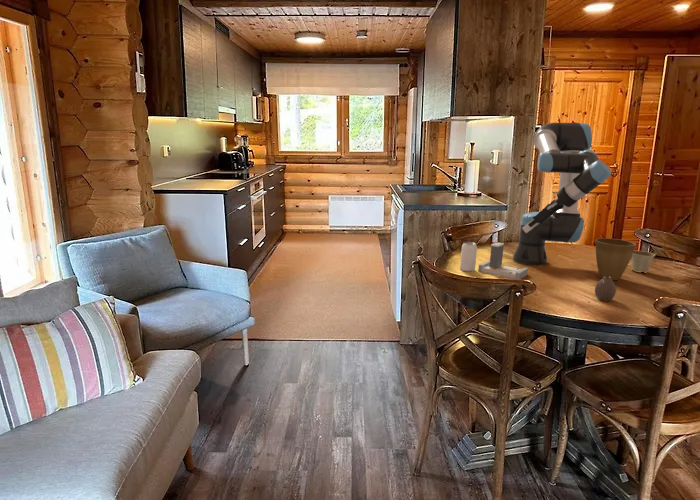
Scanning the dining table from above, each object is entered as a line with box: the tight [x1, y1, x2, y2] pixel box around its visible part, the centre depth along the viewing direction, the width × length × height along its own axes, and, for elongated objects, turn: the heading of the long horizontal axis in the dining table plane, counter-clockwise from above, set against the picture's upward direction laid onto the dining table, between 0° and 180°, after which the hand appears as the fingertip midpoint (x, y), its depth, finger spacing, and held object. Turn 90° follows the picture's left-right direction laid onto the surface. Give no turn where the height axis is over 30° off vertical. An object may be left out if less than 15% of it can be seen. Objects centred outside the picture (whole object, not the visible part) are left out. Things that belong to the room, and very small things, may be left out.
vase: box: [594, 276, 617, 302], centre depth 181 cm, size 7×7×9 cm
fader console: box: [477, 259, 529, 280], centre depth 212 cm, size 18×10×3 cm, turn 51°
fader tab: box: [489, 242, 505, 268], centre depth 213 cm, size 3×6×12 cm, turn 141°
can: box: [459, 241, 478, 272], centre depth 215 cm, size 6×6×12 cm
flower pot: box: [631, 250, 656, 272], centre depth 219 cm, size 9×9×9 cm
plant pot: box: [595, 237, 637, 281], centre depth 207 cm, size 15×15×16 cm
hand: (524, 230), depth 203 cm, fingers closed
